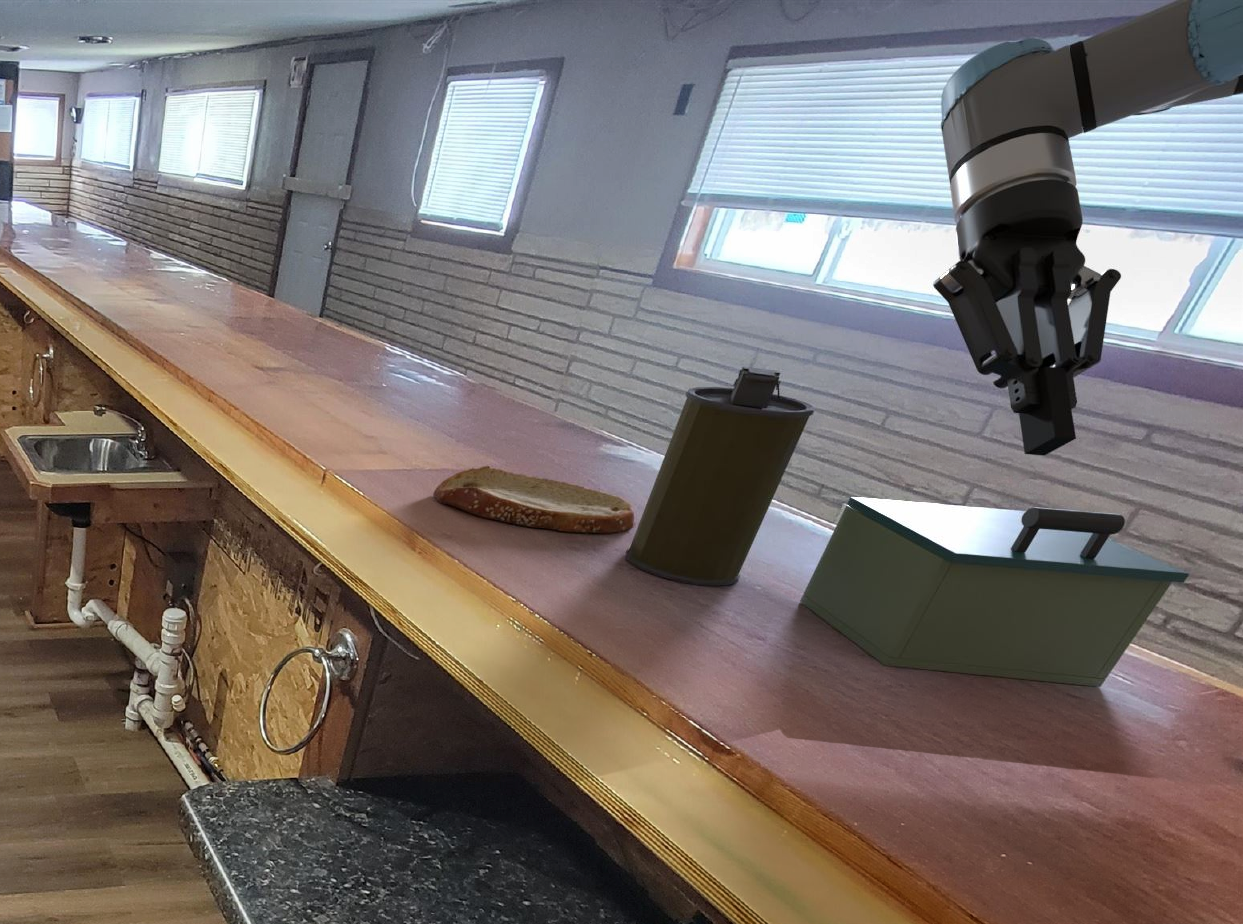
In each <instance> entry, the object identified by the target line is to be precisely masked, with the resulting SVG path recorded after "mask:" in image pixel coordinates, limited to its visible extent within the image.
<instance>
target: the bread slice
mask: <svg viewBox="0 0 1243 924" xmlns="http://www.w3.org/2000/svg"><path fill="white" fill-rule="evenodd" d="M433 496H434V497H435V499H436V500H437V501H438V503H440V504H444V505H447V506H451V507H454V508H458V509H460V510H463V511H464V512H466V513H470V514H472V515H475V516H478V517H481V518H484V519H488V520H493V519H494V520H495V521H498V520H499V522H503V523H506V524H511V523H513V524H512V525H516V524H517V526H523V527H526V528H527V527H528V528H534V529H535V528H536V529H548V530H553V531H558V532H565V533H581V534H583V533H585V534H613V533H620V532H625V531H628V530H630V529H631V530H632V529H633V528H634V526H636V514H635V511H634V509H633V506H632V504H631V503H630V502H628V501H627V500H625V499H624V498H622V497H621V496H618V495H614V494H611V493H607V492H603V491H600V490H597V489H592V488H587V487H584V486H581V485H578V484H571V483H568V482H565V481H560V480H559V481H558V480H555V479H549V478H545V477H544V478H543V477H542V478H541V477H537V476H532V475H526V474H524V473H515V472H512V471H506V470H503V469H500V468H491V466H490V465H486V466H481V467H479V468H474V467H471V468H469V469H467V470H466V469H465V470H462V471H459V472H456V473H455V474H453V475H451V476H449V477H446V479H444V480H442V482H440V484H439V485H438V486H437V487H436V488H435V490H434V491H433Z"/></svg>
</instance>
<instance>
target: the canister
mask: <svg viewBox="0 0 1243 924" xmlns="http://www.w3.org/2000/svg"><path fill="white" fill-rule="evenodd" d="M780 375H781V371H780V370H773V369H765V368H758V367H750V366H742V367H741V369H739V371H738V376H737V378H736V379H735V380H734V383H733V384H732V386H733V387H720V386H698V387H697V386H696V387H692V388H689V389H688V390H687V391H686V393H685V397H686V399H685V401H684V405H683V407H682V409H681V412H680V415H679V417H678V421H677V423H676V426H675V429H674V431H673V434H672V436H671V438H670V441H669V444H668V446H667V449H666V452H665V455H664V457H663V460H662V462H661V465H660V468H659V469H658V473H657V475H656V478H655V481H654V484H653V487H652V489H651V491H650V494H649V497H648V500H647V502H646V504H645V507H644V510H643V512H642V515H641V518H640V521H639V523H638V526H637V528H636V531H635V534H634V536H633V538H632V540H631V541H632V542H631V544H630V547H629V548H627V549H626V551H625V559H626V560H627V561H628V562H629V563H631V564H632V565H633V566H635V567H636V568H637V569H639V570H642V571H644V572H646V573H649V574H652V575H654V576H657V577H660V578H664V579H667V580H670V581H675V582H678V583H683V584H689V585H695V586H704V587H708V586H709V587H714V586H715V587H716V586H719V587H720V586H731V585H733V584H735V583H737V582H738V581H739V580H740V579H741V571H742V569H743V566H744V564H745V561H746V559H747V557H748V555H749V553H750V550H751V548H752V545H753V544H754V542H755V539H756V537H757V534H758V532H759V530H760V528H761V525H762V523H763V521H764V519H765V516H766V515H767V512H768V510H769V508H770V506H771V504H772V501H773V499H774V496H775V494H776V492H777V490H778V488H779V486H780V483H781V481H782V479H783V476H784V475H785V472H786V470H787V467H788V465H789V463H790V461H791V458H792V457H793V454H794V452H795V450H796V447H797V445H798V443H799V441H800V438H801V436H802V434H803V432H804V429H805V428H806V426H807V424H808V420H809V418H810V416H813V415H814V413H815V411H816V409H815V407H814V406H813V405H811V404H810V403H808V402H805V401H803V400H799V399H796V398H793V397H789V396H784V395H780V385H781V381H780V378H781V377H780ZM775 390H776V391H777V394H775V393H774V392H775Z"/></svg>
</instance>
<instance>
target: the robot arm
mask: <svg viewBox="0 0 1243 924" xmlns="http://www.w3.org/2000/svg"><path fill="white" fill-rule="evenodd" d="M1242 94H1243V0H1174V1H1172V2H1169V3H1166V4H1164V5H1162V6H1159V7H1157V8H1155V9H1153V10H1151V11H1147V12H1145V13H1144V14H1141V15H1139V16H1137V17H1134V18H1132V19H1130V20H1127V21H1125V22H1123V23H1120V24H1118V25H1116V26H1114V27H1111V28H1109V29H1107V30H1104V31H1101V32H1100V33H1097V34H1095V35H1092V36H1091V37H1088V38H1086V39H1083V40H1079V41H1076V42H1073V43H1071V44H1067V45H1065V46H1062V47H1060V48H1058V49H1054V47H1052V44H1051V43H1050V42H1048V41H1046V40H1044V39H1041V38H1037V37H1024V38H1022V39H1020V40H1019V41H1012V42H1011V41H1007V40H1006V41H1004V42H1001V43H998V44H995V45H993V46H990V47H989V48H987V49H984V50H983V51H981V52H979V53H977V54H975V55H974V56H972V57H971V58H969V59H968V60H967V61H965V62H964V63H963V64H962V65H961V66H960V67H959V68H957V69H956V70H955V71H954V73H953V74H952V75H951V76H950V78H949V79H948V80H947V82H946V84H945V85H944V87H943V89H942V92H941V96H940V97H941V99H940V106H941V107H940V108H941V111H940V112H941V122H940V129H941V130H940V131H941V135H942V142H943V148H944V154H945V160H946V161H945V162H946V167H947V173H948V181H949V189H950V196H951V204H952V211H953V219H954V222H955V224H956V225H955V236H956V244H957V245H956V246H957V253H958V259H959V260H958V261H957V262H955V264H954V265H952V266H951V267H950V268H948V269H947V270H946V271H945V272H944V273H943V274H941V275H940V276H939V277H937V278H936V279H935V280H934V281H933V283H932V287H933V288H934V289H935V290H936V291H937V292H938V293H939V294H940V296H942V298H943V299H944V300H945V301H946V302H947V304H948V307H949V308H950V310H951V313H952V315H953V318H954V320H955V323H956V325H957V327H958V329H959V331H960V333H961V336H962V338H963V340H964V343H965V345H966V348H967V350H968V352H969V354H970V357H971V360H972V362H973V364H974V366H975V368H976V371H977V372H978V373H979V374H980V375H983V376H989V375H991V374H995V375H997V376H999V377H998V378H996V379H995V380H994V381H992V383H993V385H994V387H996V388H998V389H1006V388H1007V389H1008V390H1007V391H1008V397H1009V404H1010V409H1011V410H1012V412H1013V413H1014V414H1018V416H1019V424H1020V431H1021V438H1022V444H1023V451H1024V455H1032V456H1044V457H1045V456H1047V455H1049V454H1050V453H1052V452H1054V451H1056V450H1058V449H1060V448H1061V447H1063V446H1065V445H1067V444H1069V443H1070V442H1073V441H1075V440H1076V439H1077V436H1076V429H1075V423H1074V418H1073V410H1074V409H1075V408H1076V406H1077V404H1078V398H1077V392H1076V385H1075V380H1074V378H1076V377H1078V376H1079V375H1081V374H1083V373H1085V372H1086V371H1087V370H1090V369H1091V368H1092V367H1094V366H1095V365H1097V364H1099V363H1100V362H1101V360H1102V353H1103V347H1104V342H1105V341H1104V340H1105V334H1106V326H1107V320H1108V319H1107V318H1108V312H1109V306H1110V300H1111V298H1110V297H1111V292H1112V291H1113V290H1114V288H1115V287H1116V285H1117V284H1118V283H1119V281H1120V280H1121V278H1122V273H1121V272H1120V271H1119V270H1117V269H1114V268H1108V269H1107V270H1105V271H1104V272H1102V273H1099V272H1098V271H1096V270H1094V269H1092V268H1089V267H1087V266H1086V256H1085V254H1084V253H1083V252H1082V251H1081V249H1079V246H1078V245H1077V240H1078V237H1079V235H1080V232H1081V229H1082V227H1083V214H1082V208H1081V203H1080V198H1079V197H1080V196H1079V191H1078V189H1077V184H1078V183H1077V176H1076V172H1075V166H1074V161H1073V155H1072V151H1071V144H1070V139H1071V138H1073V137H1076V136H1079V135H1081V134H1086V133H1088V132H1091V131H1094V130H1095V129H1098V128H1101V127H1103V126H1106V125H1109V124H1112V123H1115V122H1117V121H1120V120H1123V119H1126V118H1128V117H1133V116H1144V115H1151V114H1157V113H1161V112H1164V111H1165V112H1166V111H1168V110H1170V109H1172V108H1176V107H1182V106H1186V105H1192V104H1197V103H1198V104H1199V103H1203V102H1208V101H1213V100H1214V101H1215V100H1219V99H1224V98H1229V97H1232V96H1237V95H1242ZM1068 300H1070V301H1069V302H1068ZM993 351H994V353H993V354H992V352H993Z"/></svg>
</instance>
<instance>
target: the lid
mask: <svg viewBox="0 0 1243 924" xmlns="http://www.w3.org/2000/svg"><path fill="white" fill-rule="evenodd" d="M846 506H850V507H852V508H853V509H855V510H857V511H859V512H861V513H862V514H864V515H866V516H868V517H870V518H871V519H873V520H875V521H877V522H879V523H880V524H882V525H884V526H886V527H888V528H889V529H891V530H893V531H895V532H897V533H898V534H900V535H902V536H904V537H906V538H907V539H909V540H911V541H913V542H915V543H916V544H918V545H920V546H922V547H924V548H925V549H927V550H929V551H931V552H933V553H935V554H936V555H938V556H940V557H942V558H944V559H945V560H947V561H949V562H953V563H964V564H975V565H987V566H998V567H1010V568H1021V569H1032V570H1044V571H1055V572H1066V573H1078V574H1089V575H1100V576H1112V577H1123V578H1135V579H1146V580H1157V581H1169V582H1172V583H1181V584H1182V583H1183V584H1184V583H1185V582H1186V580H1187V579H1188V577H1189V576H1190V573H1189V572H1187V571H1185V570H1182V569H1180V568H1178V567H1176V566H1173V565H1171V564H1168V563H1166V562H1164V561H1161V560H1160V559H1157V558H1155V557H1152V556H1150V555H1148V554H1145V553H1143V552H1141V551H1138V550H1136V549H1134V548H1132V547H1129V546H1127V545H1125V544H1122V543H1120V542H1118V541H1115V540H1113V539H1110V538H1109V537H1110V535H1116V534H1118V533H1120V532H1121V531H1122V530H1123V528H1124V527H1125V524H1126V519H1125V517H1124V515H1121V514H1119V513H1112V512H1111V513H1109V512H1098V511H1097V512H1096V511H1084V510H1074V509H1061V508H1047V507H1035V506H1033V507H1030V508H1027V509H1026V510H1018V509H1017V510H1016V509H1007V508H1006V509H1004V508H993V507H992V508H991V507H979V506H967V505H954V504H943V503H931V502H920V501H905V500H893V499H883V498H882V499H881V498H868V497H858V496H857V497H856V496H850V497H849V498H848V501H847V503H846Z"/></svg>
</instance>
